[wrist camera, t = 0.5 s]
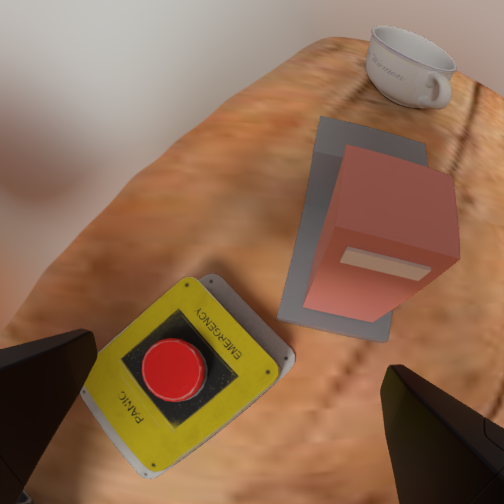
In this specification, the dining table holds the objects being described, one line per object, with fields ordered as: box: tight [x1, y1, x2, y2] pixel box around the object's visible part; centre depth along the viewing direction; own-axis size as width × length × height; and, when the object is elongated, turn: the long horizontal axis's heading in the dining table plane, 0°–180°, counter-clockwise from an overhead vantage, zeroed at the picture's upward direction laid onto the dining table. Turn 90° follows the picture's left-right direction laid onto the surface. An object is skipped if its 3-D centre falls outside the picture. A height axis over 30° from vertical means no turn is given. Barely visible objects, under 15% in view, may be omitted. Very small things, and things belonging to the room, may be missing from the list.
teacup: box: [366, 25, 457, 109], centre depth 27 cm, size 14×11×8 cm
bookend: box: [277, 116, 428, 343], centre depth 20 cm, size 13×8×7 cm, turn 164°
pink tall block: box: [303, 144, 460, 323], centre depth 15 cm, size 4×5×11 cm
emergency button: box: [80, 273, 295, 479], centre depth 18 cm, size 9×4×15 cm
